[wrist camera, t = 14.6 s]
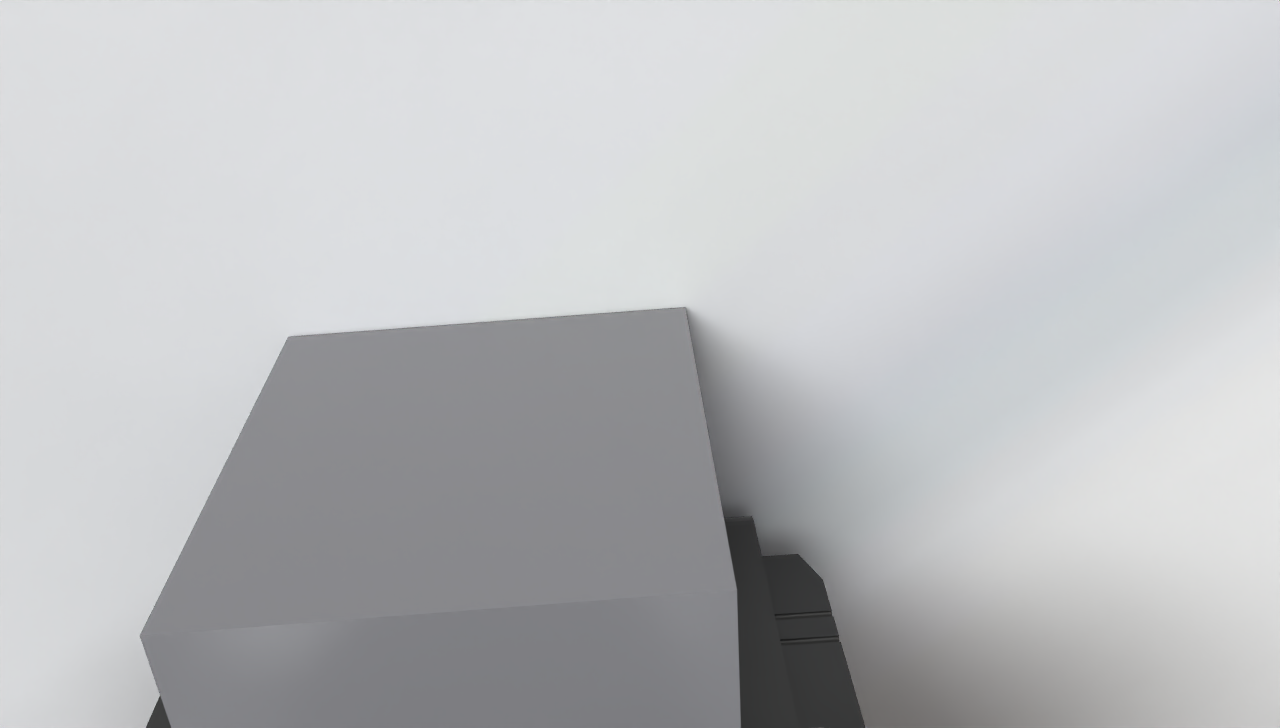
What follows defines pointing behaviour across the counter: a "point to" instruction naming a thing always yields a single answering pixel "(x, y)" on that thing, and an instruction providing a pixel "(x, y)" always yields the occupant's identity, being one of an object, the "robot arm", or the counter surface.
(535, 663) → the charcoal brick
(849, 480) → the counter surface
